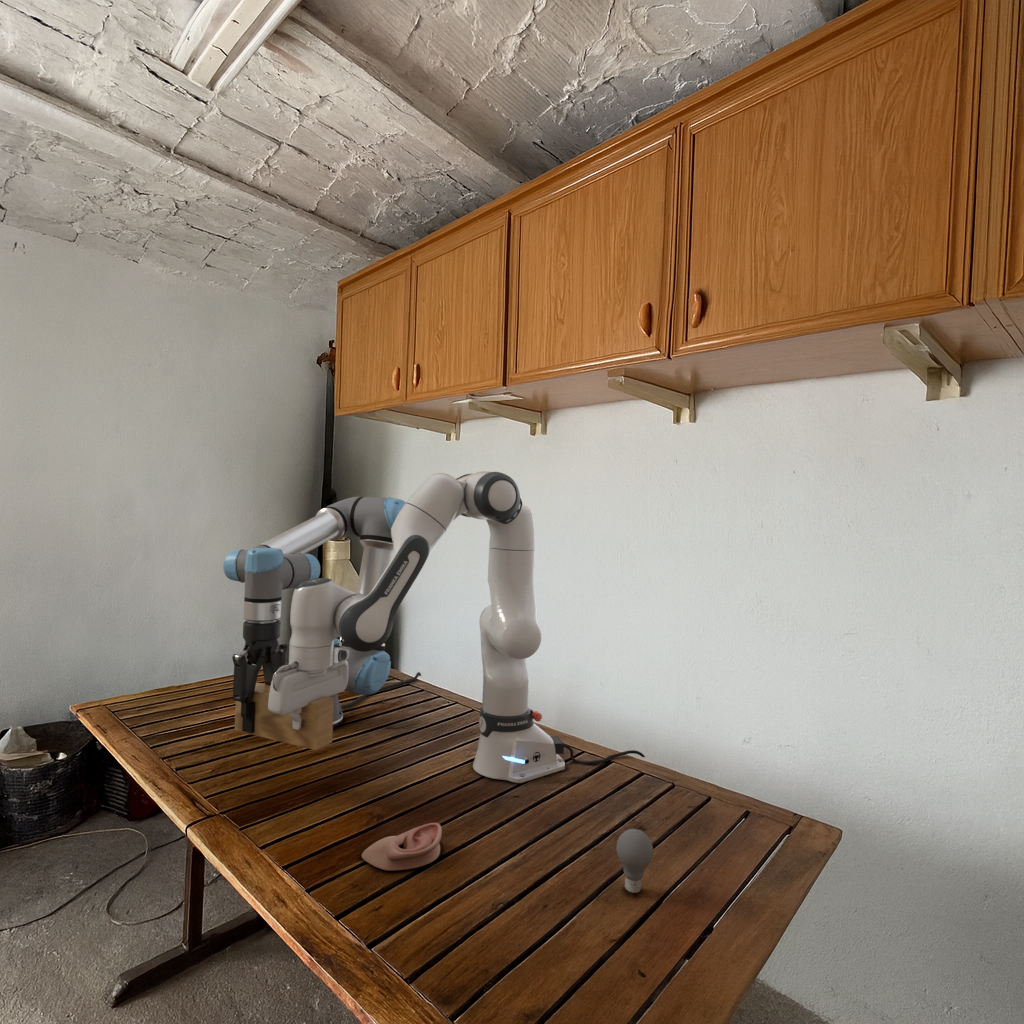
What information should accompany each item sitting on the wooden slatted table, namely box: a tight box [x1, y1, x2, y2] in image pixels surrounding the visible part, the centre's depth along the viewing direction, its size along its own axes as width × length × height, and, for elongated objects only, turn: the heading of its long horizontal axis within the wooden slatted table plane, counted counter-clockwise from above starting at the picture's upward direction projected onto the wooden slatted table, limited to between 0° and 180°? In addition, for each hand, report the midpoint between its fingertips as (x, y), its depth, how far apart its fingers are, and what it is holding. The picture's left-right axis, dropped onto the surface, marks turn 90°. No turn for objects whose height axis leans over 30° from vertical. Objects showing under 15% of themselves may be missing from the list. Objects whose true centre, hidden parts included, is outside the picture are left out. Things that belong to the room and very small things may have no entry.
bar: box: [234, 682, 334, 751], centre depth 134 cm, size 22×5×9 cm, turn 67°
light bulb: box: [615, 828, 654, 894], centre depth 106 cm, size 6×6×10 cm
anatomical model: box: [361, 822, 443, 872], centre depth 114 cm, size 13×4×12 cm
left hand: (258, 727), depth 137 cm, fingers closed on bar, 5 cm apart
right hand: (309, 723), depth 131 cm, fingers closed on bar, 5 cm apart
